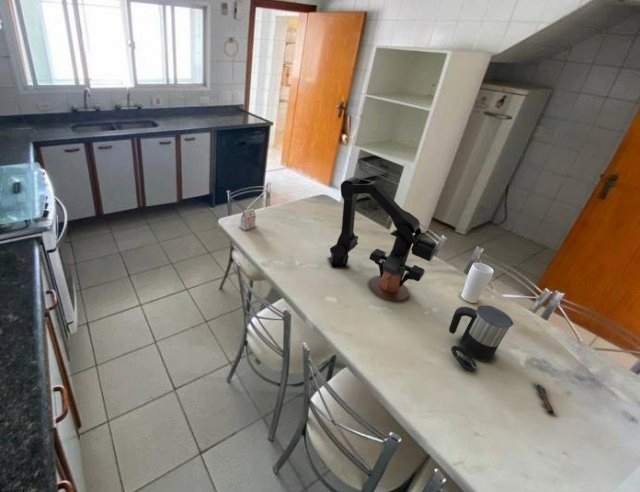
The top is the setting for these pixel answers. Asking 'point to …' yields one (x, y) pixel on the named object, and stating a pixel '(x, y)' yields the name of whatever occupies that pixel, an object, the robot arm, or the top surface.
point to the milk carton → (248, 219)
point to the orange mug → (391, 281)
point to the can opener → (545, 399)
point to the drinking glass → (476, 282)
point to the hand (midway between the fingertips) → (390, 281)
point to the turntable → (386, 295)
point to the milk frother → (479, 333)
